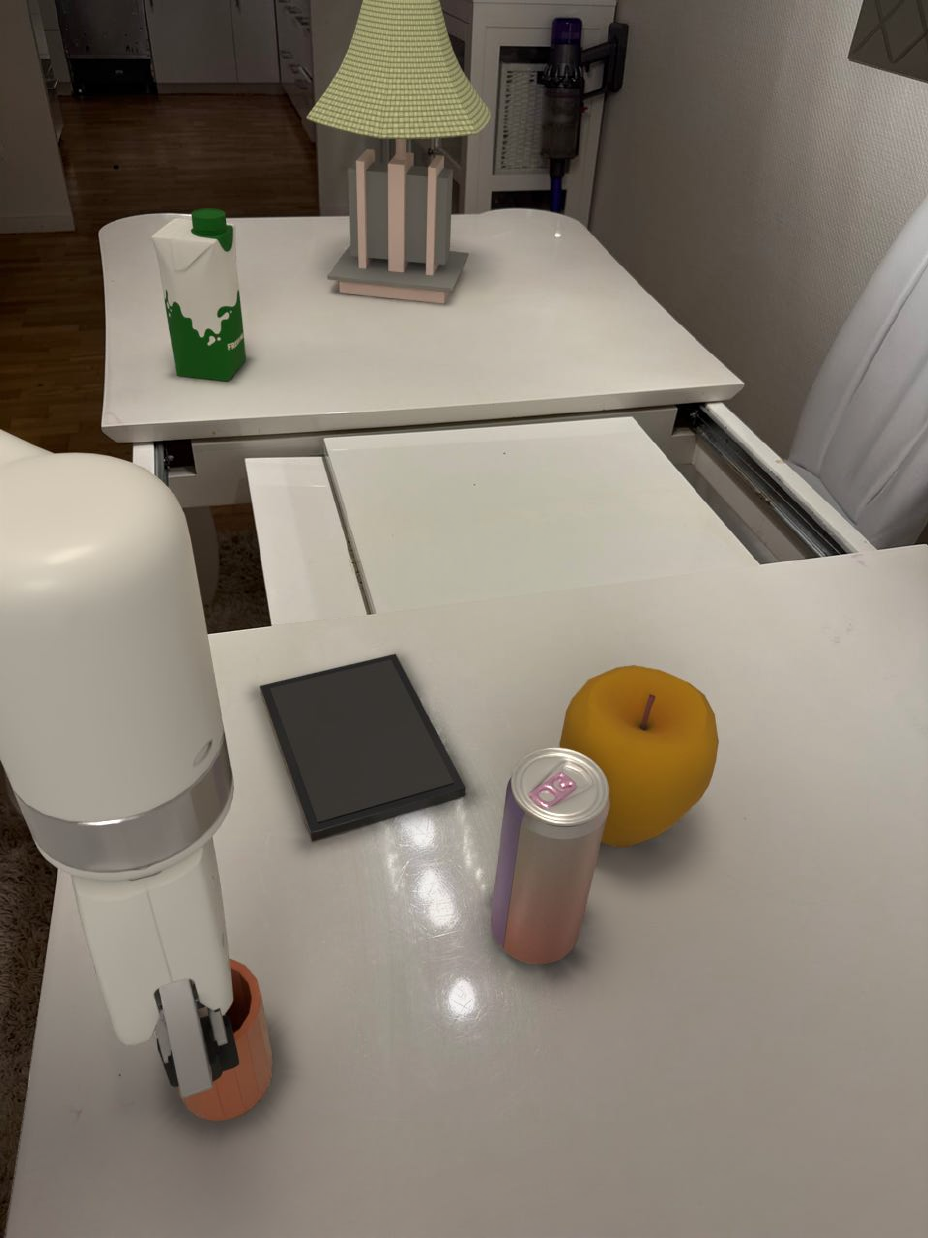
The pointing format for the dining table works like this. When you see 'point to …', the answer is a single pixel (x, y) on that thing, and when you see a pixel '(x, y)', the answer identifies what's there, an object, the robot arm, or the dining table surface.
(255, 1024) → the pen cup
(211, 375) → the milk carton
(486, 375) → the dining table surface
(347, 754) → the tablet
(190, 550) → the robot arm
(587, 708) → the apple
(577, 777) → the beverage can
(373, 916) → the dining table surface
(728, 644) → the dining table surface
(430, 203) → the desk lamp
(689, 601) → the dining table surface
